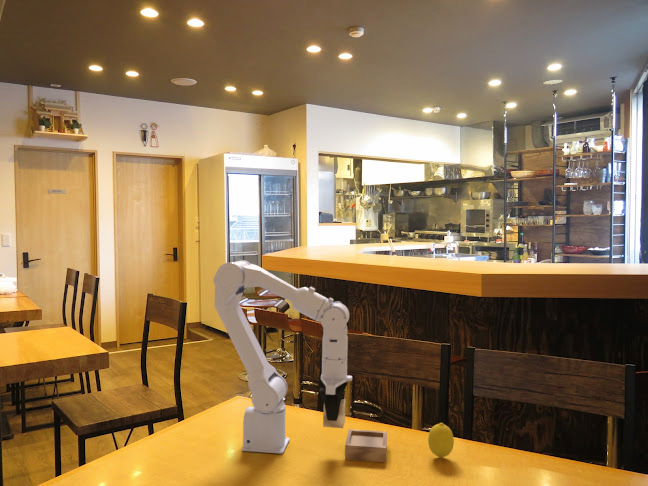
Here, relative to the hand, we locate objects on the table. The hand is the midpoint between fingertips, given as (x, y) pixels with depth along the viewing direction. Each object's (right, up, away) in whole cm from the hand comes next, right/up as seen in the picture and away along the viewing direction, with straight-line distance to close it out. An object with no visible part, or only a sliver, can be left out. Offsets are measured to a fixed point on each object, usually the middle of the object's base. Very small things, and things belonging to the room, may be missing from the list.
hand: (333, 416), depth 119 cm
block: (0, -2, 0) cm, 2 cm away
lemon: (+24, -9, -2) cm, 25 cm away
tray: (+8, -8, 0) cm, 11 cm away
